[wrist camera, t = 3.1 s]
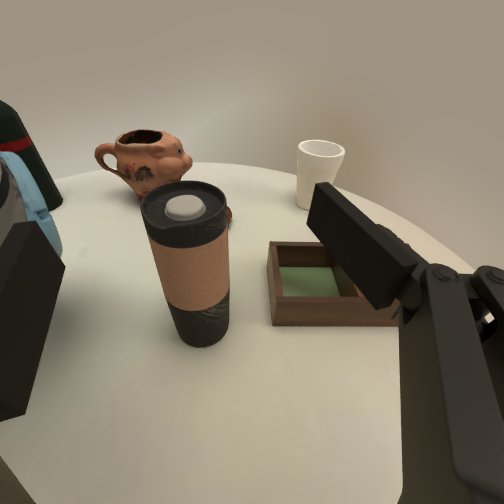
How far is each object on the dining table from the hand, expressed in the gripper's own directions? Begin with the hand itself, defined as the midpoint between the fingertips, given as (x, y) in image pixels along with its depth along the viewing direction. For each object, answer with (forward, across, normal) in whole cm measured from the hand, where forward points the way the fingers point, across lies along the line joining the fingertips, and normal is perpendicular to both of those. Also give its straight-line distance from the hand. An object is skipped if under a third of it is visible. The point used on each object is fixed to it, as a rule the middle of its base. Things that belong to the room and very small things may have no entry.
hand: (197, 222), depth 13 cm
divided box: (+9, +22, -24) cm, 34 cm away
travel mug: (+10, 0, -24) cm, 26 cm away
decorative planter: (+47, -5, -24) cm, 53 cm away
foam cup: (+35, +30, -24) cm, 52 cm away
